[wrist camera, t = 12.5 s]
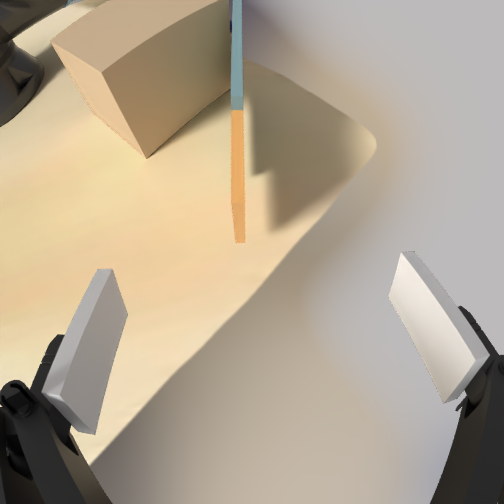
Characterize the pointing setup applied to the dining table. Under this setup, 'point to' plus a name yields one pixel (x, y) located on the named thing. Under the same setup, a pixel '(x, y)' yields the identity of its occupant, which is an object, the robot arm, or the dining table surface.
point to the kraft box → (149, 64)
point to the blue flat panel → (237, 126)
